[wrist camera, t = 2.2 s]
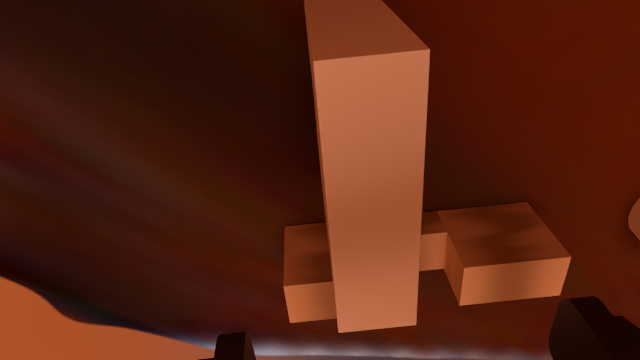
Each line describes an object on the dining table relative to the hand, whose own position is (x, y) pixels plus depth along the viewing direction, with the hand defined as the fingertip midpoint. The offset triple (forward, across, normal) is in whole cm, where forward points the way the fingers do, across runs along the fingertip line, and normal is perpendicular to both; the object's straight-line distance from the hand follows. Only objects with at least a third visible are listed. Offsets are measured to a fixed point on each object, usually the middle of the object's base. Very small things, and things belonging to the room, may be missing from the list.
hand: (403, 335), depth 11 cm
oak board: (+18, -5, +12) cm, 22 cm away
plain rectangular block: (+18, 0, 0) cm, 18 cm away
